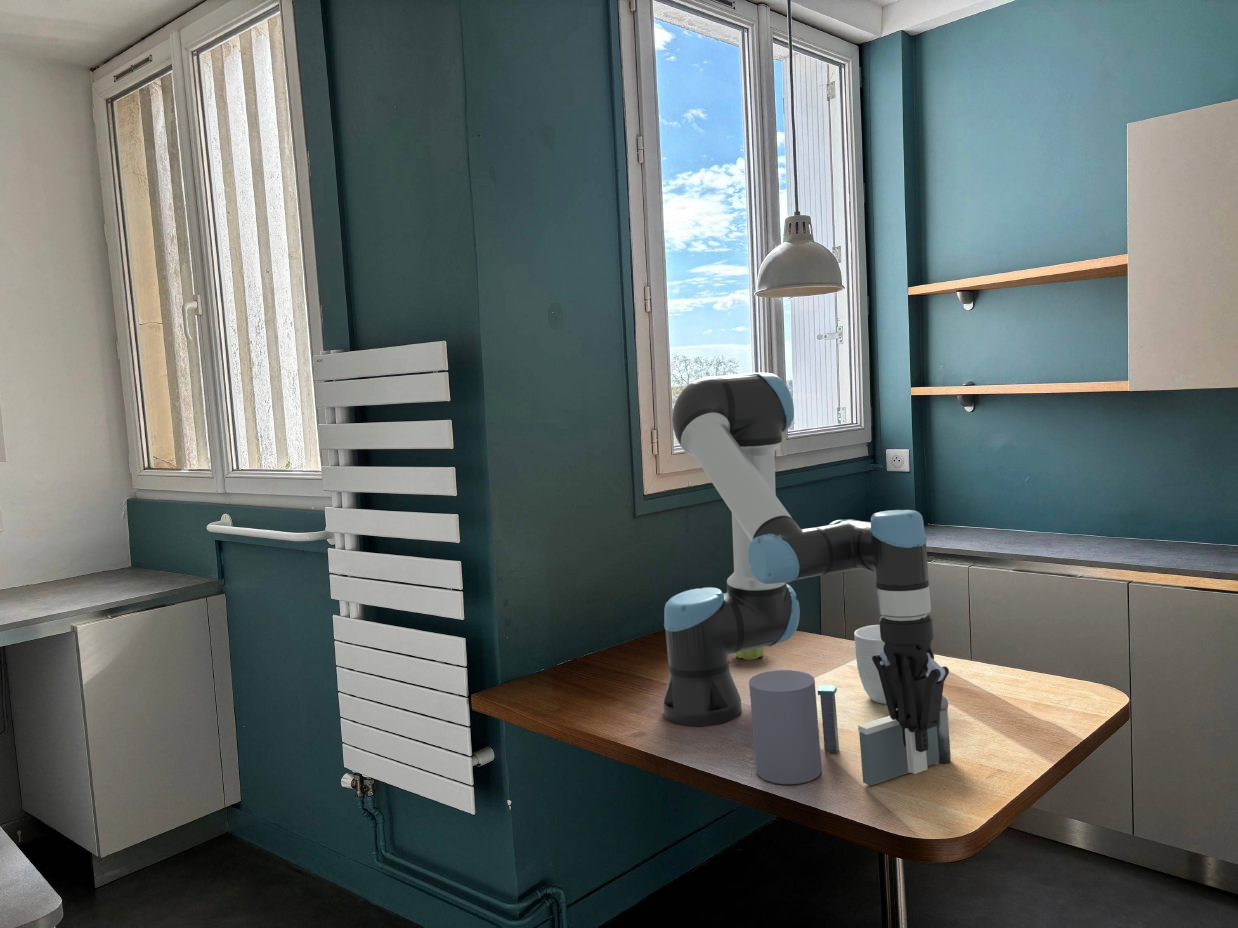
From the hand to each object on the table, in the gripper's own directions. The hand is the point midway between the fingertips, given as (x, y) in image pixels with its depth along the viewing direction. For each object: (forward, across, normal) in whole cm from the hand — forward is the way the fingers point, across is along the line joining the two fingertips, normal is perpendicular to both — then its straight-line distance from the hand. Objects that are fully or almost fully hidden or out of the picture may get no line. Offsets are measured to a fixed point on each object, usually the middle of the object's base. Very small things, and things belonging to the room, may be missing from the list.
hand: (917, 770), depth 130 cm
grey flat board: (+2, +4, -1) cm, 5 cm away
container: (+2, +16, +11) cm, 20 cm away
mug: (+1, +28, -24) cm, 37 cm away
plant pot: (0, +70, -22) cm, 73 cm away
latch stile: (+2, +18, +1) cm, 18 cm away
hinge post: (+2, +4, -10) cm, 10 cm away
